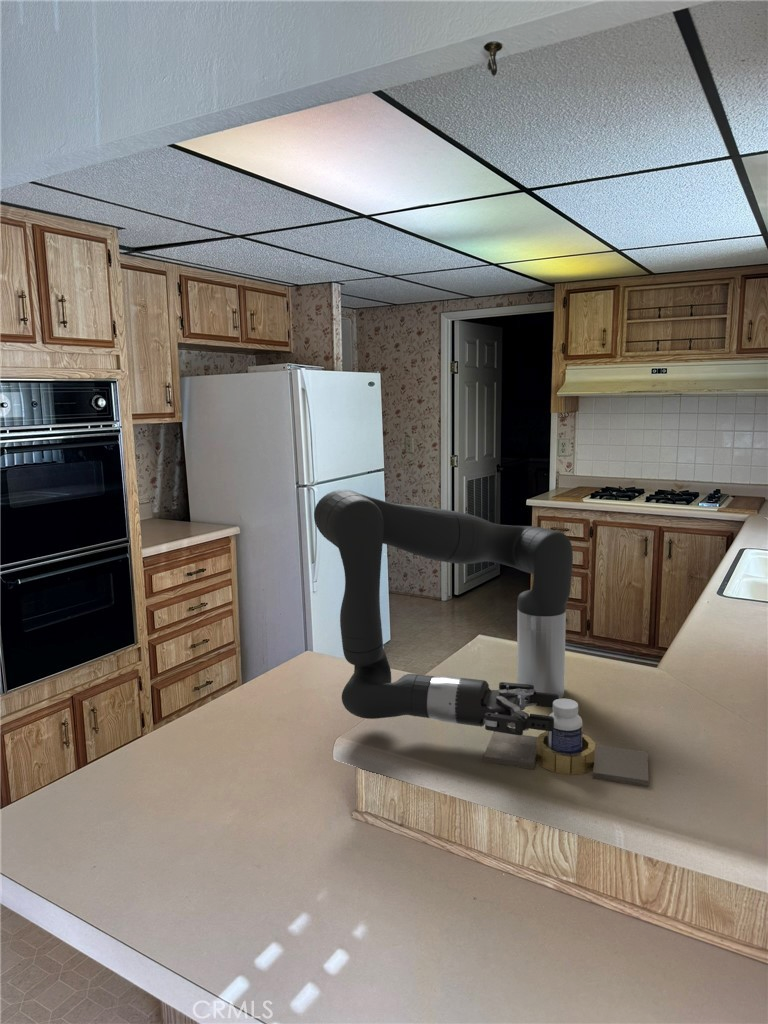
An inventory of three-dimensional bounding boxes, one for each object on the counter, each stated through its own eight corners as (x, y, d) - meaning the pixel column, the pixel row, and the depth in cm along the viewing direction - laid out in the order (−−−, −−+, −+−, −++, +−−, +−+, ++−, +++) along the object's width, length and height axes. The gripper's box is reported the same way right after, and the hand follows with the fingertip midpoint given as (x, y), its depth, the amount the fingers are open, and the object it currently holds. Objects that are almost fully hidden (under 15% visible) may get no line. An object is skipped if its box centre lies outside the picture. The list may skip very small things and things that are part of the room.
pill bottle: (588, 765, 111) (589, 708, 109) (558, 771, 109) (559, 713, 108) (570, 749, 116) (571, 694, 114) (541, 754, 114) (542, 699, 113)
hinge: (493, 736, 121) (493, 720, 121) (647, 757, 113) (647, 740, 112) (483, 761, 113) (483, 744, 112) (648, 786, 104) (649, 768, 104)
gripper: (447, 696, 110) (552, 709, 105) (467, 663, 123) (561, 673, 118) (448, 740, 111) (551, 755, 106) (467, 703, 124) (560, 715, 119)
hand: (556, 712), depth 112 cm, fingers open, 8 cm apart
